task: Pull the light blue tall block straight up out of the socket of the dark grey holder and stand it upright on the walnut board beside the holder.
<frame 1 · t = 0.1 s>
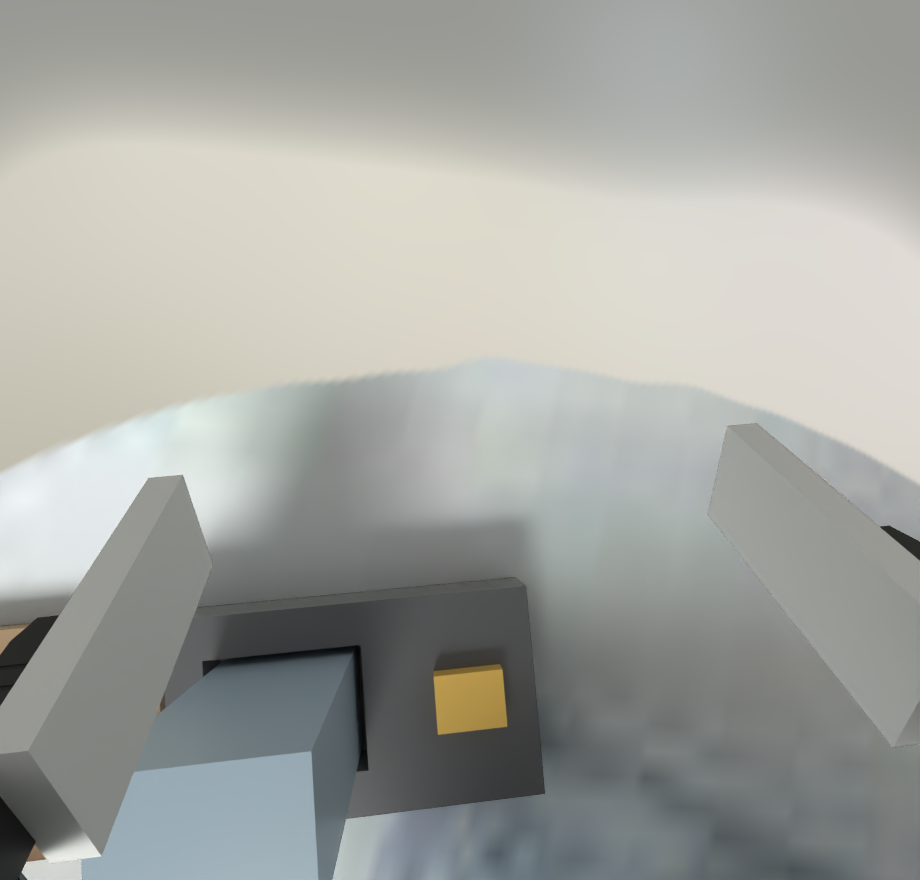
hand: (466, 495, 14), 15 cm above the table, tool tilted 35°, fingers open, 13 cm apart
light blue tall block: (296, 698, 27), point 1 cm above the table, touching dark grey holder
walnut board: (61, 729, 27), on the table
dark grey holder: (361, 686, 28), on the table
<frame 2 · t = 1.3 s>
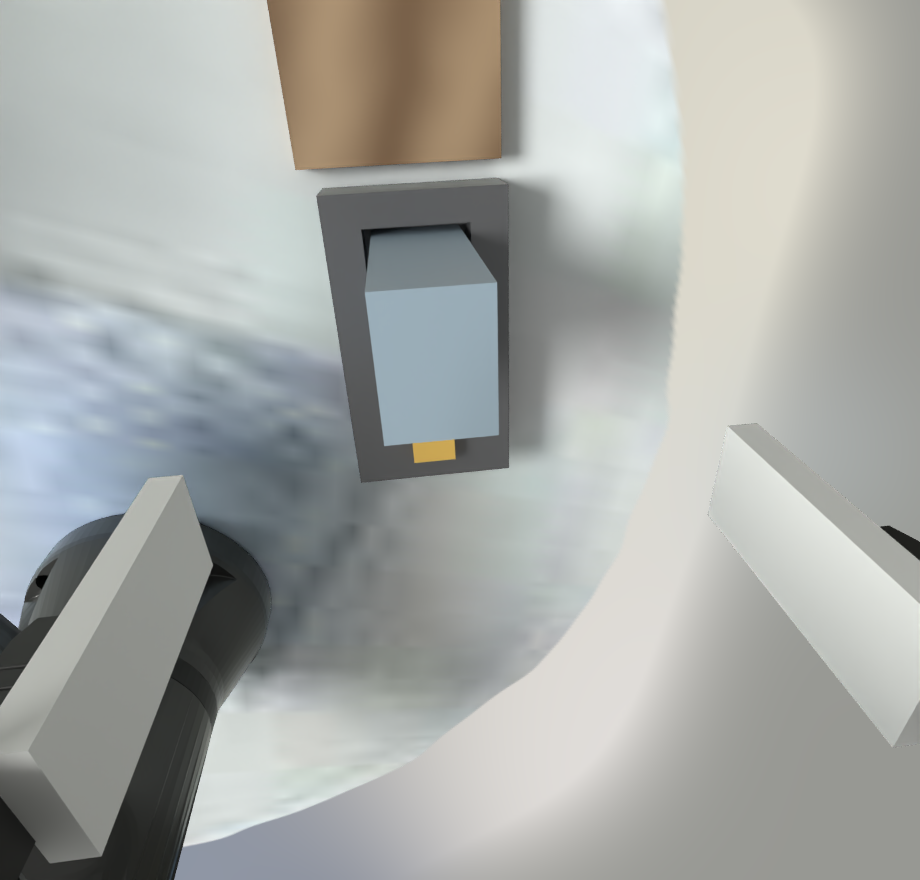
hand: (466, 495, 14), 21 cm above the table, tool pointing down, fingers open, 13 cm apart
light blue tall block: (419, 284, 31), point 1 cm above the table, touching dark grey holder
walnut board: (388, 42, 26), on the table
dark grey holder: (422, 332, 34), on the table
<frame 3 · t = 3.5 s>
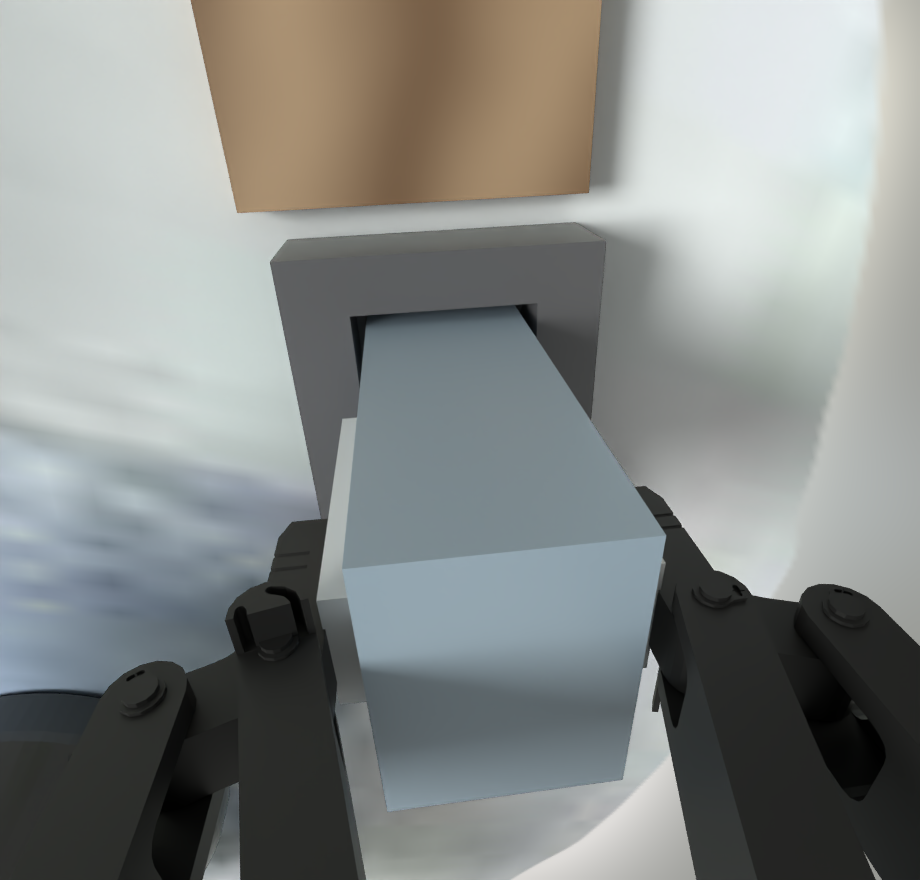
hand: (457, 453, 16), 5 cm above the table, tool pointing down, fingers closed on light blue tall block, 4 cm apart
light blue tall block: (444, 387, 20), point 1 cm above the table, touching gripper, dark grey holder
dark grey holder: (446, 450, 22), on the table
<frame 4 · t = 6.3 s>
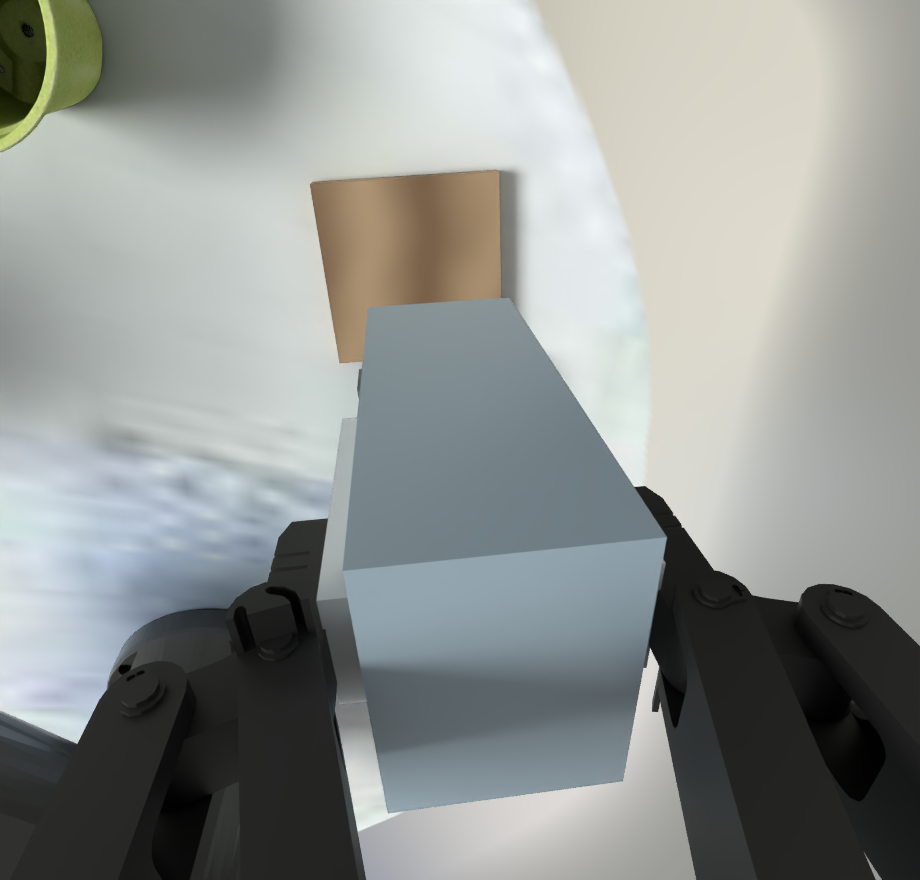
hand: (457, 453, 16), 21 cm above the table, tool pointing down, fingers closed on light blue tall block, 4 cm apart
light blue tall block: (444, 388, 20), point 17 cm above the table, touching gripper
plant pot 2: (37, 35, 27), on the table
walnut board: (413, 268, 34), on the table
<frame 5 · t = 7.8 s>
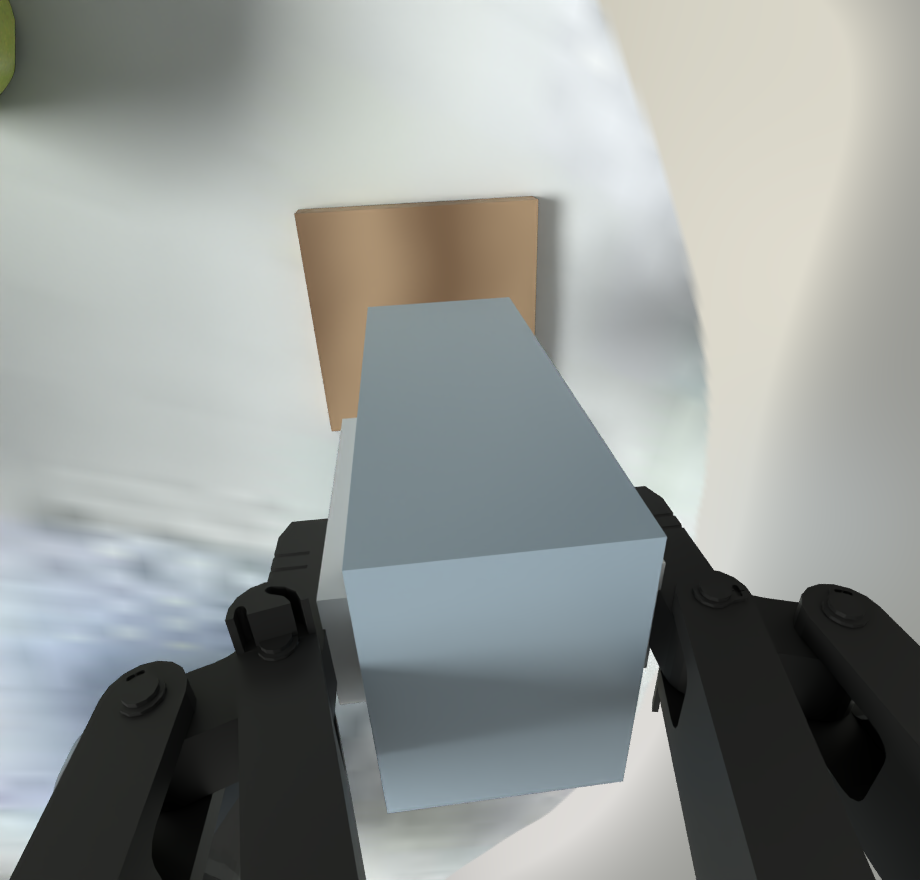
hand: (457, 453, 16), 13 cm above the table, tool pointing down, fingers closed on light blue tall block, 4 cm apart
light blue tall block: (444, 388, 20), point 8 cm above the table, touching gripper
walnut board: (425, 316, 27), on the table
when the fingers open (7 cm above the table, at t = 9.1 s): light blue tall block drops 2 cm, resting on walnut board.
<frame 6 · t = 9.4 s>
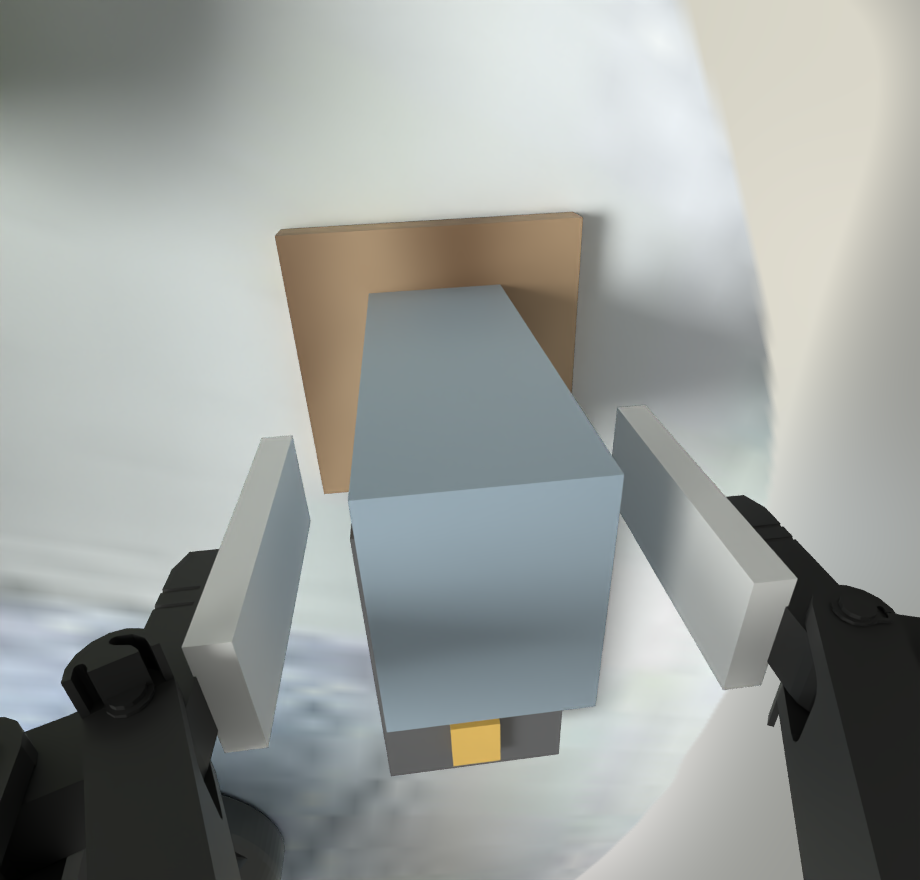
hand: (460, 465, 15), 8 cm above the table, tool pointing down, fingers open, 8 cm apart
light blue tall block: (440, 370, 21), point 1 cm above the table, touching walnut board
walnut board: (438, 357, 22), on the table
dark grey holder: (463, 615, 29), on the table
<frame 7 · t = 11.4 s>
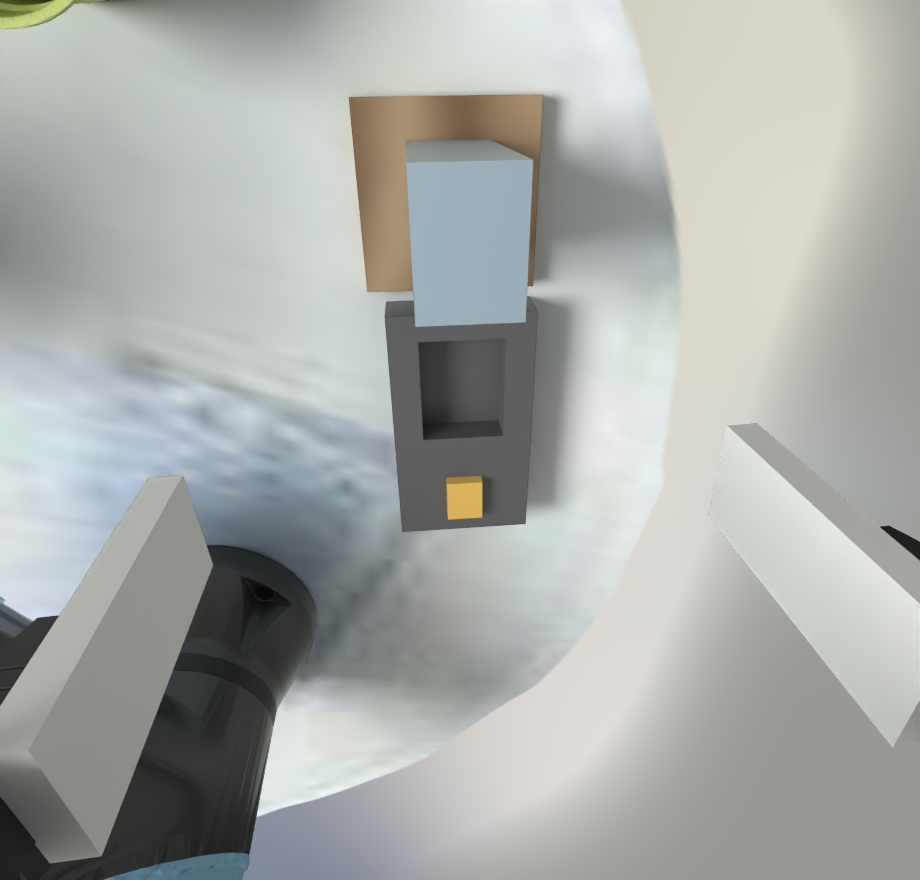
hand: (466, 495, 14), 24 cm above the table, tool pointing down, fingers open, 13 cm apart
light blue tall block: (448, 200, 32), point 1 cm above the table, touching walnut board
walnut board: (447, 197, 33), on the table
dark grey holder: (459, 411, 40), on the table
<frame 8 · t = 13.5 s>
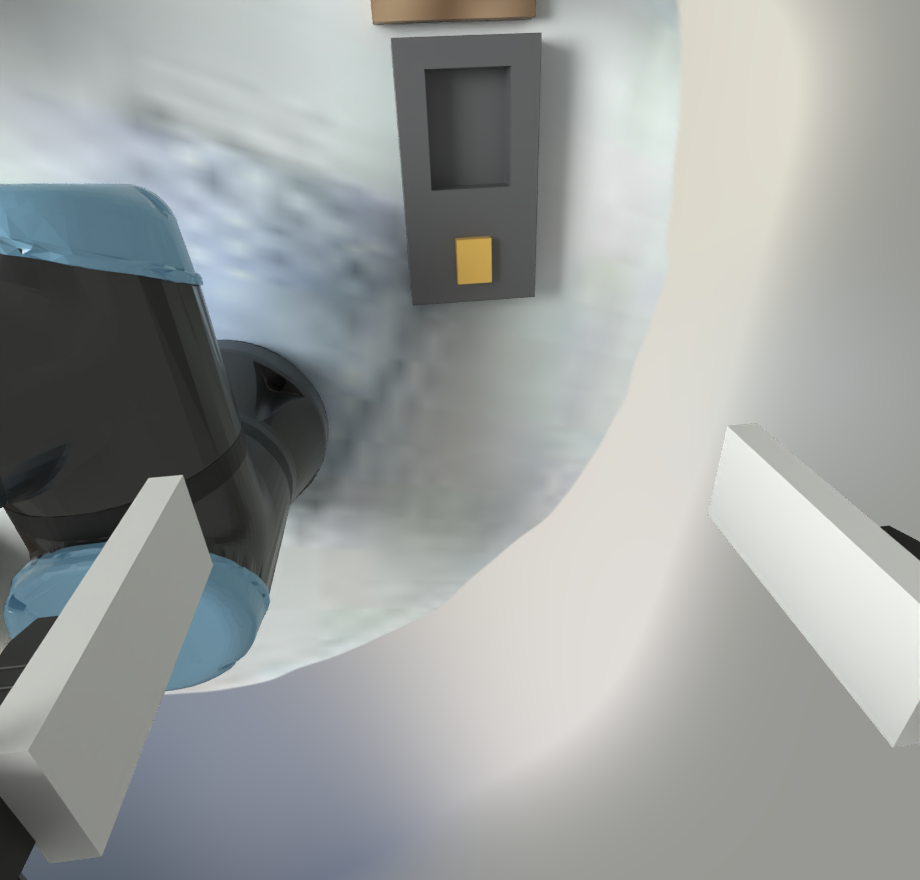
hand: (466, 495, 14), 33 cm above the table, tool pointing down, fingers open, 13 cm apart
dark grey holder: (465, 177, 41), on the table
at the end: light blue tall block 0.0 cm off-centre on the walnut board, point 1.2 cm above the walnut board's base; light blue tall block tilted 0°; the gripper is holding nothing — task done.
